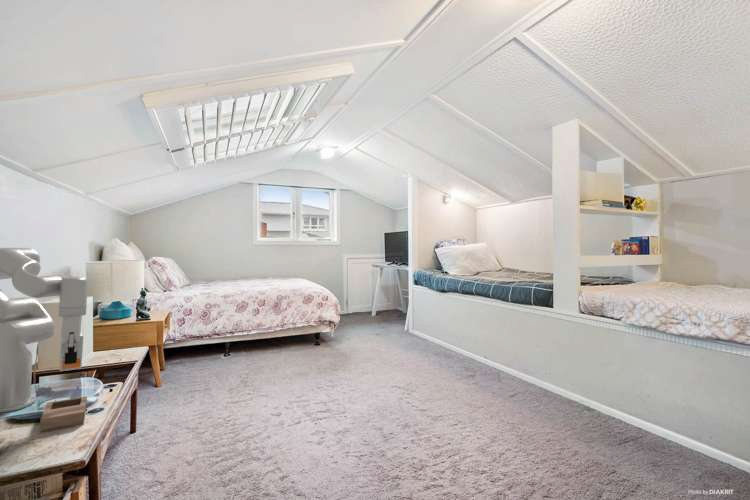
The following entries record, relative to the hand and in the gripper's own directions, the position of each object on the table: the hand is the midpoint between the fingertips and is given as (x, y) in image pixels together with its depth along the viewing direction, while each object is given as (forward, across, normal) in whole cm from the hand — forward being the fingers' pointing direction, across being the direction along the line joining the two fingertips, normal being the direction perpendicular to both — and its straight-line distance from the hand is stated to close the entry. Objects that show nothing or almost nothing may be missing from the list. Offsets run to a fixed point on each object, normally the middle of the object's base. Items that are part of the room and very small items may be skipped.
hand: (70, 360), depth 127 cm
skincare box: (+3, 0, 0) cm, 3 cm away
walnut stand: (+20, +4, -1) cm, 20 cm away
